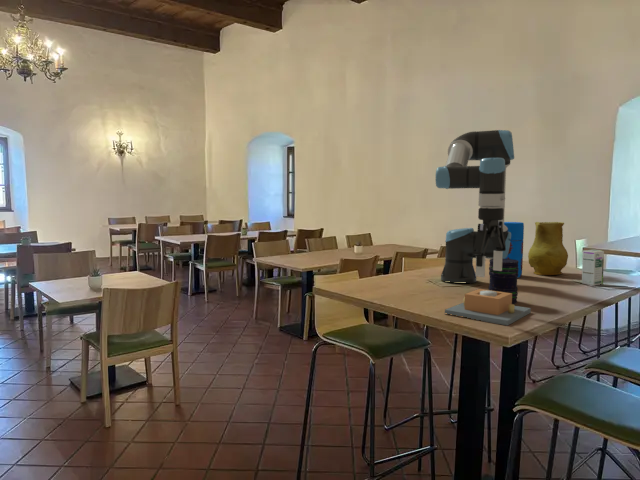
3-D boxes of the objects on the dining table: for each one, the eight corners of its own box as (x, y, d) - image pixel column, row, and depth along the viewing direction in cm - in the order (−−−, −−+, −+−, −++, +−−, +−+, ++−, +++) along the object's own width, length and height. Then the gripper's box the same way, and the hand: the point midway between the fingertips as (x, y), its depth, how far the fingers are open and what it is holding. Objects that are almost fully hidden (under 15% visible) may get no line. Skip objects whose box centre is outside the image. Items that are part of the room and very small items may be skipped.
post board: (444, 314, 153) (445, 292, 152) (471, 303, 167) (472, 283, 167) (507, 325, 139) (508, 302, 139) (530, 312, 154) (531, 291, 153)
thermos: (519, 278, 215) (521, 223, 213) (495, 276, 221) (496, 222, 218) (523, 275, 224) (525, 222, 222) (499, 273, 230) (501, 221, 228)
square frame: (464, 309, 153) (464, 294, 152) (478, 303, 161) (479, 288, 160) (498, 315, 145) (498, 299, 145) (511, 308, 154) (512, 293, 153)
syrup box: (593, 285, 198) (595, 251, 196) (581, 283, 203) (582, 249, 202) (603, 284, 200) (604, 250, 198) (590, 282, 205) (591, 249, 204)
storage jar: (523, 303, 167) (525, 261, 165) (499, 305, 164) (501, 262, 162) (505, 297, 176) (506, 257, 175) (482, 299, 173) (483, 259, 172)
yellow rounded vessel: (520, 271, 235) (522, 221, 232) (555, 270, 237) (557, 220, 234) (539, 277, 218) (542, 223, 215) (577, 276, 220) (580, 222, 217)
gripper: (486, 209, 138) (484, 281, 141) (517, 206, 157) (515, 269, 159) (462, 208, 143) (460, 277, 146) (495, 205, 162) (493, 266, 164)
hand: (489, 273), depth 152 cm, fingers open, 13 cm apart
